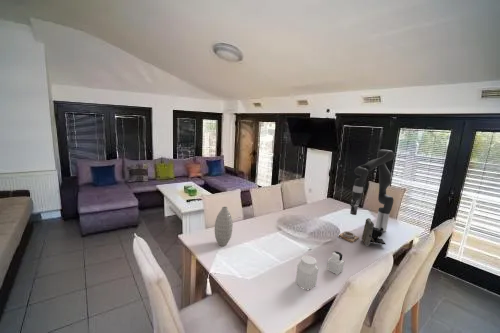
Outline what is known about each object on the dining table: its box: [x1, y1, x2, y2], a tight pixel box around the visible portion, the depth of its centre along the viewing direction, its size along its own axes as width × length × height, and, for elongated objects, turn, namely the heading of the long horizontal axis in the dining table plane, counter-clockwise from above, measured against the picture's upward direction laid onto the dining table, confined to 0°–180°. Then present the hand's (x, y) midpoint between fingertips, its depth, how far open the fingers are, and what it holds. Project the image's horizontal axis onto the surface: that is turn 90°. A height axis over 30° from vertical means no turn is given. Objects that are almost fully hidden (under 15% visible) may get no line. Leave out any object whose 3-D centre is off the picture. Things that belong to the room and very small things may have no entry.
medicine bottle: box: [326, 250, 345, 275], centre depth 147 cm, size 7×7×12 cm
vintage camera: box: [361, 218, 387, 246], centre depth 185 cm, size 10×15×20 cm, turn 78°
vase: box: [214, 206, 234, 247], centre depth 167 cm, size 13×13×28 cm
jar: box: [295, 255, 319, 290], centre depth 133 cm, size 12×10×15 cm
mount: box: [338, 231, 360, 244], centre depth 194 cm, size 12×12×4 cm
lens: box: [349, 203, 360, 216], centre depth 195 cm, size 5×5×10 cm
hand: (353, 210), depth 195 cm, fingers closed on lens, 5 cm apart
